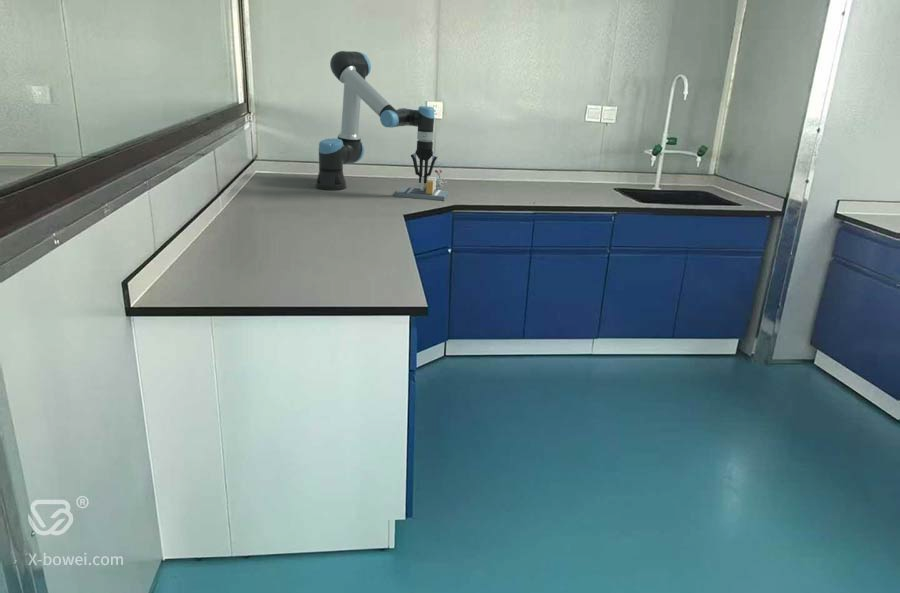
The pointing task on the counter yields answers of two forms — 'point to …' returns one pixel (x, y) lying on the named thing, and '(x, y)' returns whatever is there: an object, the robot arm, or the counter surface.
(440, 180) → the molecular model
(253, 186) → the counter surface
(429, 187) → the toggle
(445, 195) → the breaker panel
